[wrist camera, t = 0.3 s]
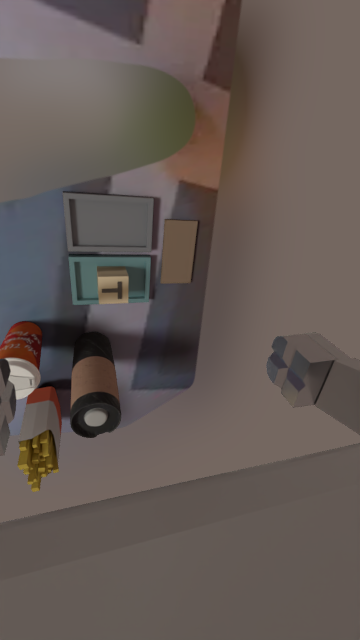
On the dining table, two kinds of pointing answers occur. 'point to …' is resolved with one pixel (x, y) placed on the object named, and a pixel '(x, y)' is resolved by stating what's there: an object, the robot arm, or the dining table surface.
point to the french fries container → (40, 435)
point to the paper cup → (23, 356)
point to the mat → (178, 250)
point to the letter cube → (112, 284)
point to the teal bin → (86, 265)
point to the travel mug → (94, 387)
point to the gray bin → (108, 222)
